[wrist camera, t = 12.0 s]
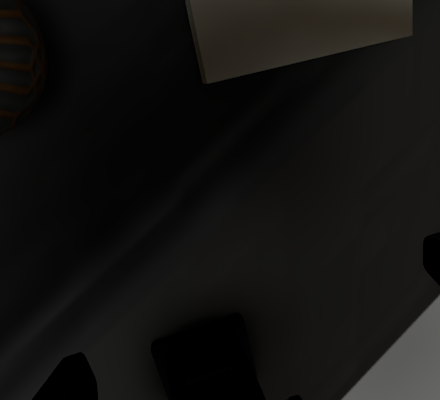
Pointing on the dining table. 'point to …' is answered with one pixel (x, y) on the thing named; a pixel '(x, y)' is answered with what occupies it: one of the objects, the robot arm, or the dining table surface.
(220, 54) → the board
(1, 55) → the vase
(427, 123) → the dining table surface
